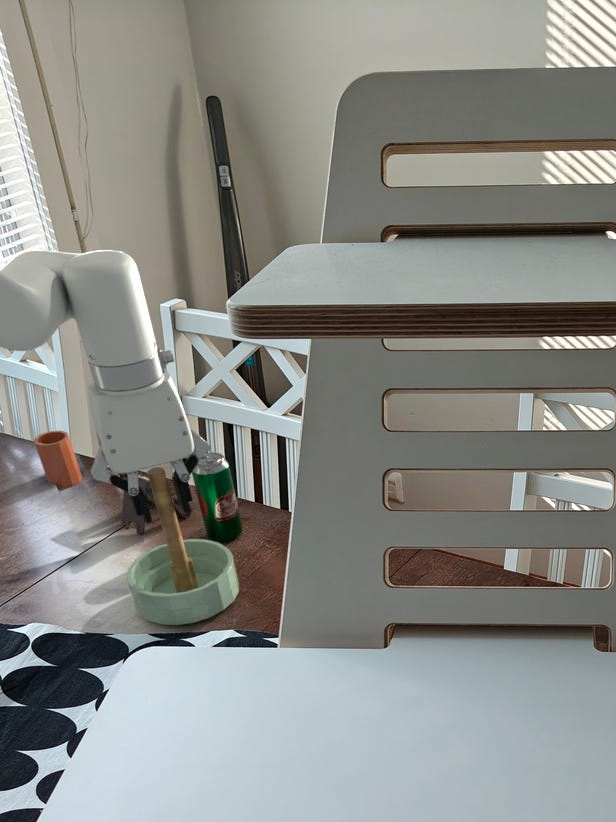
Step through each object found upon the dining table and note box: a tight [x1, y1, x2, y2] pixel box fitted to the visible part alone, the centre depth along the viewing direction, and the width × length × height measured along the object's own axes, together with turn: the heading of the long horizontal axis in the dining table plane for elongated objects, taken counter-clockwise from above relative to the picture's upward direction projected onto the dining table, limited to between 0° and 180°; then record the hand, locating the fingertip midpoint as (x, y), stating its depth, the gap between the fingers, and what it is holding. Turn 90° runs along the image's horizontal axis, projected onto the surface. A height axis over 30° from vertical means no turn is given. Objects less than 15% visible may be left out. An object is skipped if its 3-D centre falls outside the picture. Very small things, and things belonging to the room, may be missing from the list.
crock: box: [33, 430, 83, 490], centre depth 152 cm, size 5×5×8 cm
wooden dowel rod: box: [146, 466, 199, 593], centre depth 122 cm, size 3×2×18 cm
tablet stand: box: [107, 466, 192, 535], centre depth 142 cm, size 9×8×8 cm
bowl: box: [126, 538, 240, 626], centre depth 127 cm, size 13×13×5 cm
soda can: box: [191, 452, 244, 543], centre depth 137 cm, size 5×5×12 cm
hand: (165, 511), depth 120 cm, fingers open, 4 cm apart
